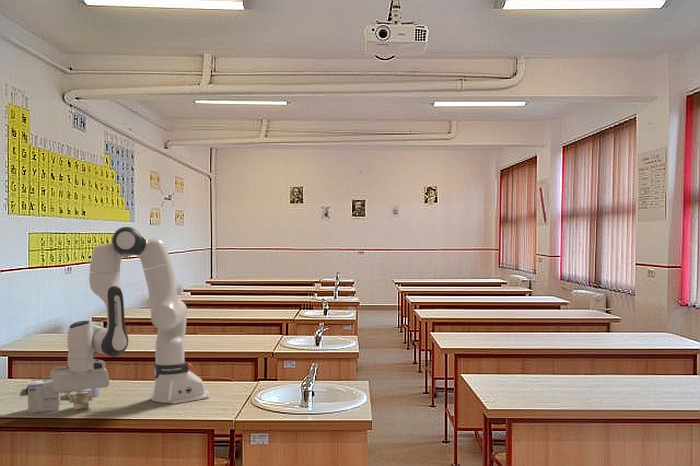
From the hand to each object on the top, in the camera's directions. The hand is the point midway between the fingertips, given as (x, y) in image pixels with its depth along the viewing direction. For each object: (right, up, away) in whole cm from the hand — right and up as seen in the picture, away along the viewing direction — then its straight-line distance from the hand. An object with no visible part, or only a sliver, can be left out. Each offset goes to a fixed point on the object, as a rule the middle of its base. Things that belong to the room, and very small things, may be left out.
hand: (81, 401), depth 250 cm
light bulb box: (-13, -3, -2) cm, 13 cm away
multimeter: (-24, -3, +30) cm, 38 cm away
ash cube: (0, -2, 0) cm, 2 cm away
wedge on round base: (-6, -3, +18) cm, 20 cm away
